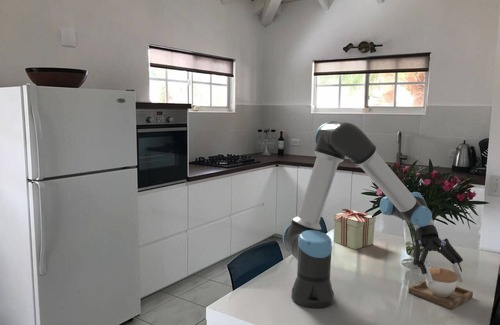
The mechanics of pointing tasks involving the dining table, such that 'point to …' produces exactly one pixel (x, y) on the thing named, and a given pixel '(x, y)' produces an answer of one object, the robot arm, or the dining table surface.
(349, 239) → the gift box
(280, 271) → the dining table surface
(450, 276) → the lidded jar
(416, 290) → the walnut tray
